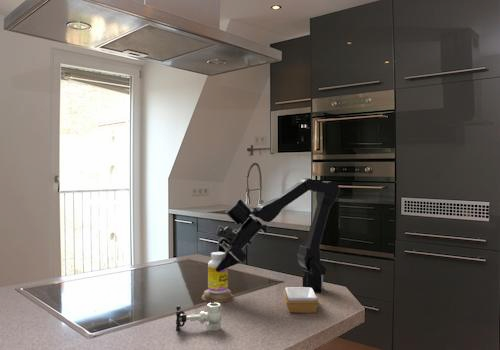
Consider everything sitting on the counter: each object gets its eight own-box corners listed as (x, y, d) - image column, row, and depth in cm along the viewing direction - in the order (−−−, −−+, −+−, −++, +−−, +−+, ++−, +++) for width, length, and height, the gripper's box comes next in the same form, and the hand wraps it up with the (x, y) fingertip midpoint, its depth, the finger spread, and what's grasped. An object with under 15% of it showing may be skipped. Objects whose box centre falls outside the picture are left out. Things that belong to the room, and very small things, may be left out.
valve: (220, 324, 114) (176, 326, 112) (221, 300, 113) (177, 301, 112) (222, 333, 107) (175, 335, 105) (222, 308, 107) (176, 310, 105)
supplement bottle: (219, 296, 132) (218, 256, 132) (203, 292, 136) (203, 253, 136) (232, 290, 137) (232, 252, 137) (217, 287, 141) (217, 250, 141)
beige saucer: (237, 295, 140) (237, 289, 140) (225, 304, 130) (225, 298, 130) (210, 291, 143) (210, 286, 143) (196, 300, 133) (196, 294, 133)
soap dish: (319, 315, 121) (319, 298, 121) (286, 314, 122) (286, 297, 121) (313, 301, 134) (313, 286, 134) (282, 301, 134) (283, 285, 134)
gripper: (223, 214, 146) (192, 246, 143) (236, 220, 128) (201, 257, 125) (244, 235, 149) (214, 267, 146) (260, 244, 131) (226, 281, 128)
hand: (213, 268), depth 136 cm, fingers open, 8 cm apart
